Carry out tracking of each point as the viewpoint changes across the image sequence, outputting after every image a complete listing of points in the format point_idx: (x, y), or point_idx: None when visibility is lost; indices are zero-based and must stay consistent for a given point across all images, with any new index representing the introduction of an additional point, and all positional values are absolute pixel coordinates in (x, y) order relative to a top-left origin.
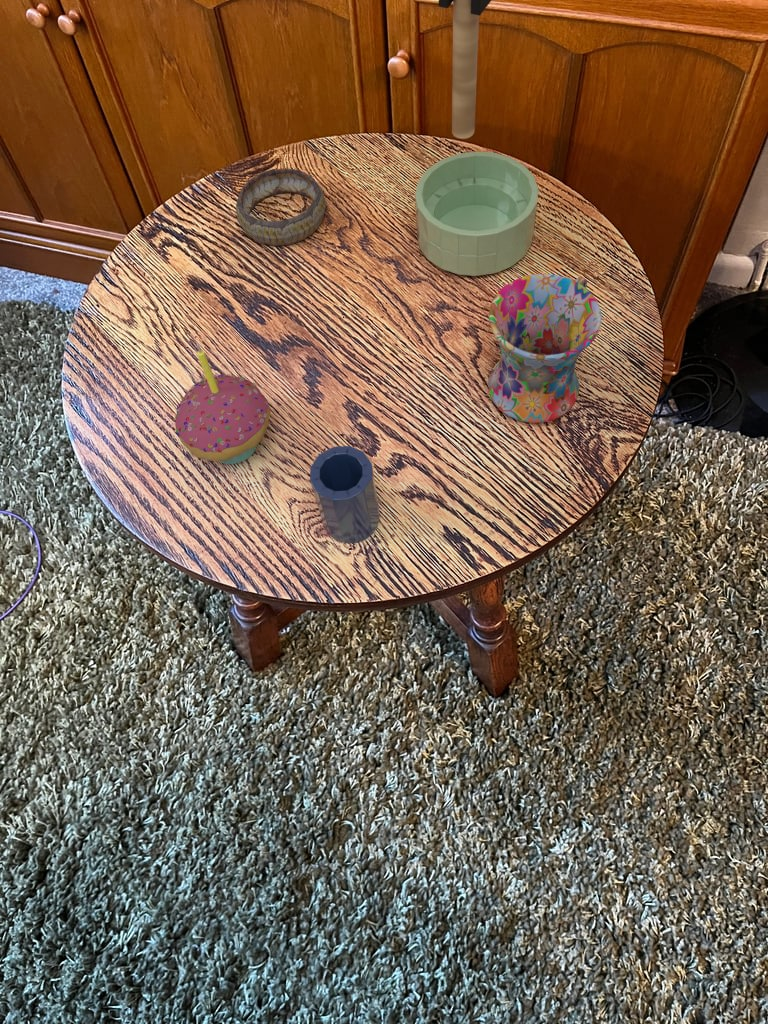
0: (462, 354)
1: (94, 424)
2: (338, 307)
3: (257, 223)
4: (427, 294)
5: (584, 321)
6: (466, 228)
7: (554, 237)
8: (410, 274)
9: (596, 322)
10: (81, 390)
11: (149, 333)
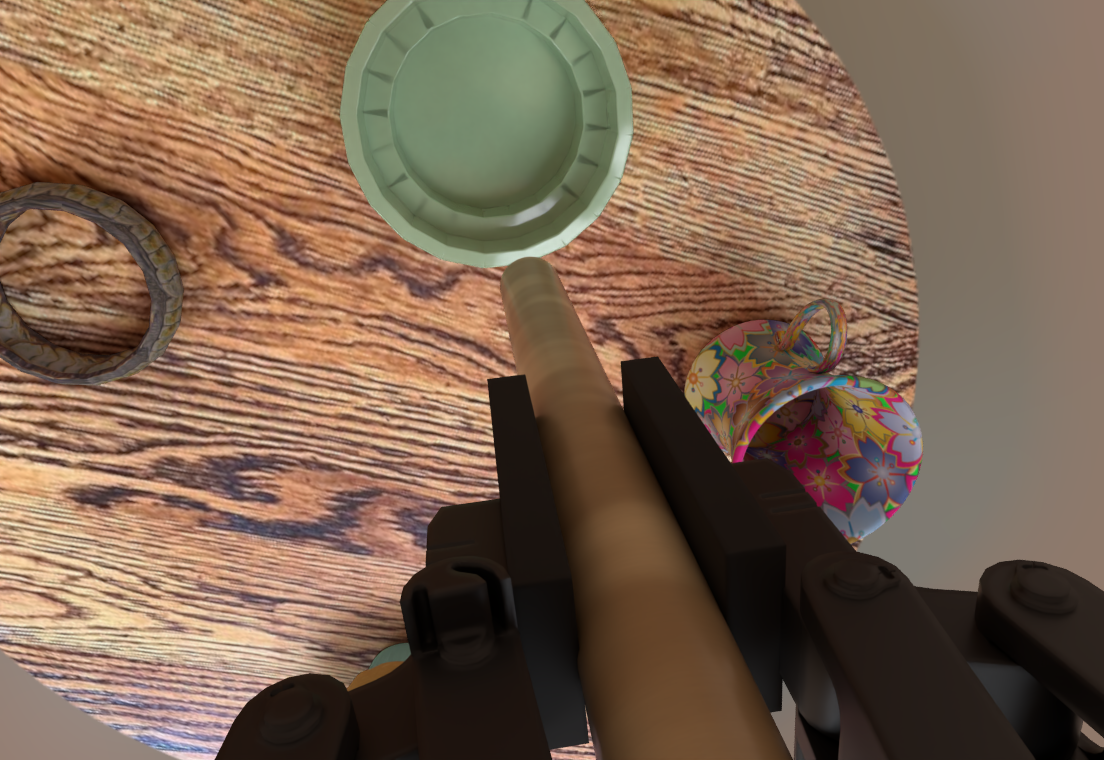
0: (615, 379)
1: (208, 748)
2: (364, 407)
3: (92, 383)
4: (487, 299)
5: (874, 407)
6: (461, 111)
7: (635, 23)
8: (429, 273)
9: (914, 438)
10: (136, 726)
11: (125, 611)
